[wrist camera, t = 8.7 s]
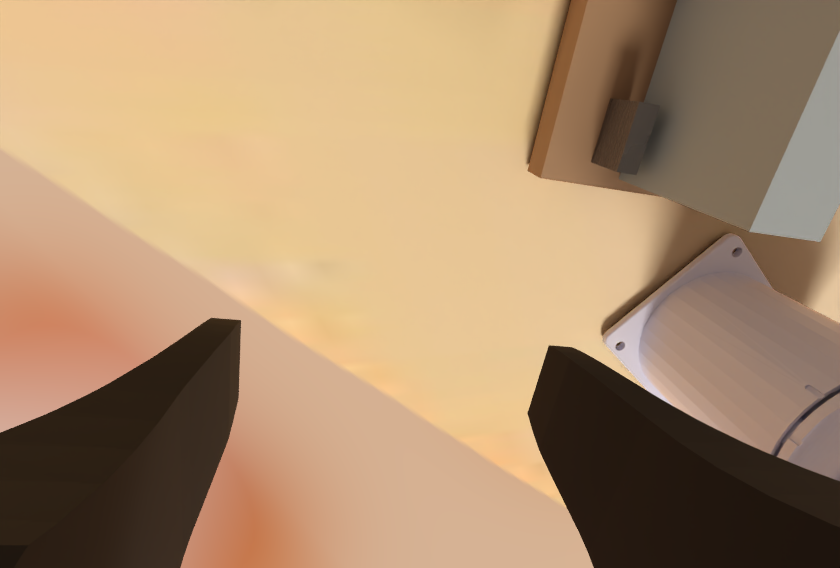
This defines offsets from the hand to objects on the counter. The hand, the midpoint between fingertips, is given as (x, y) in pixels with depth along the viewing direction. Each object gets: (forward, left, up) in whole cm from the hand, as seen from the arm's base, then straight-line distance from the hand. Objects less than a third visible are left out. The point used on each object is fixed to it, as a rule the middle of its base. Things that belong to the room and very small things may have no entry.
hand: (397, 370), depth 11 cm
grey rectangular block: (-3, -14, -9) cm, 17 cm away
